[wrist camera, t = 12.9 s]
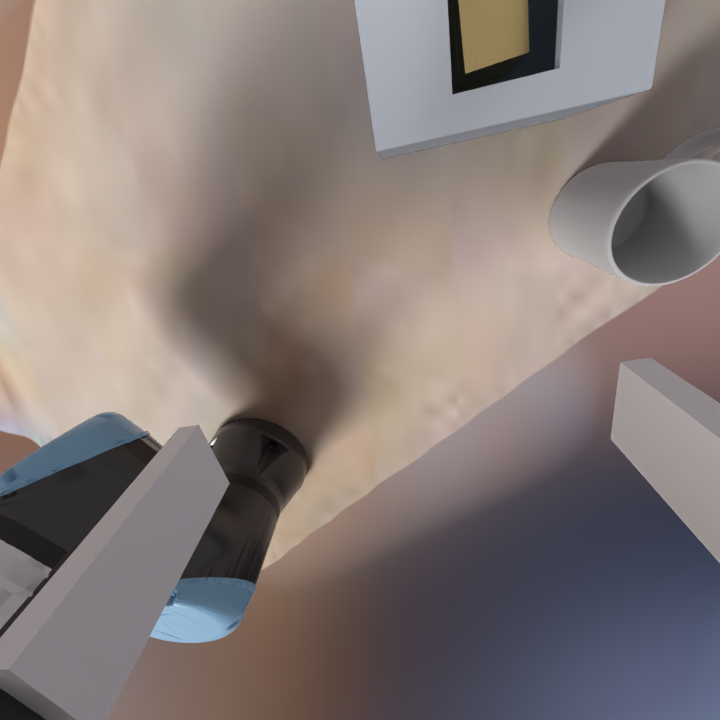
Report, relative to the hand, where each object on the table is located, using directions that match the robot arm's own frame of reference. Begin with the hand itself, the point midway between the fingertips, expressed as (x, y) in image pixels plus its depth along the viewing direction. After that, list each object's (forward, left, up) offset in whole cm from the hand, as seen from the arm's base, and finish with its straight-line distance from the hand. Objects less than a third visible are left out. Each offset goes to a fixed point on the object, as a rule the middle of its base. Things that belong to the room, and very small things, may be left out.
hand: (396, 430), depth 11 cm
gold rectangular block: (+8, +15, -29) cm, 34 cm away
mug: (+21, +2, -30) cm, 36 cm away
